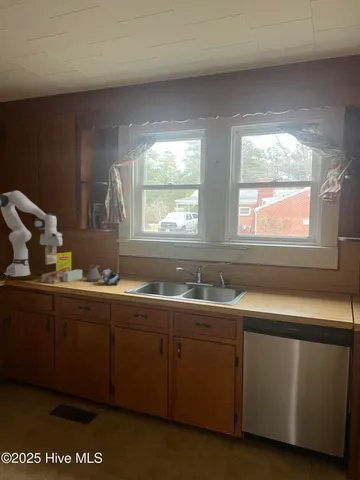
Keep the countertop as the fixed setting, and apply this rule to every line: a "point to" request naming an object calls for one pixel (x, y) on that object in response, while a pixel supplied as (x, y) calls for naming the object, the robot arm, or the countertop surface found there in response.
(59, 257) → the food package
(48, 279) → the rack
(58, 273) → the offcut top
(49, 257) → the birch sheet
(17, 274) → the robot arm
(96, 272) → the coffee pot
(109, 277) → the blue-grey irregular lump
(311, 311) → the countertop surface
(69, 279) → the slot stand
